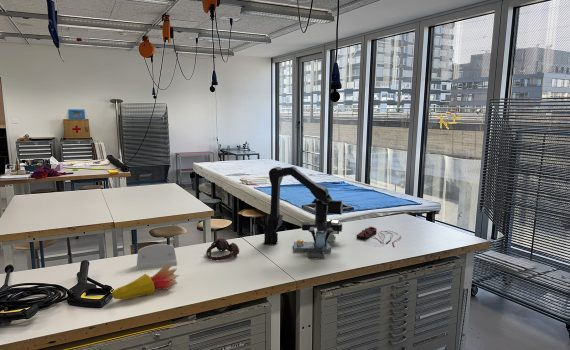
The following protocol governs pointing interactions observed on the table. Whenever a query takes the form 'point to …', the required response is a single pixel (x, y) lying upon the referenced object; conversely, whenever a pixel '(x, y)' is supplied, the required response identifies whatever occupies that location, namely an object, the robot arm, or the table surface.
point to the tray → (315, 253)
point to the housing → (311, 247)
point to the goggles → (223, 249)
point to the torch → (147, 284)
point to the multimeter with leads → (370, 232)
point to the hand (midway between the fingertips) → (320, 243)
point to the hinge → (156, 256)
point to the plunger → (299, 242)
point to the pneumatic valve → (331, 236)
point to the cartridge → (320, 239)
